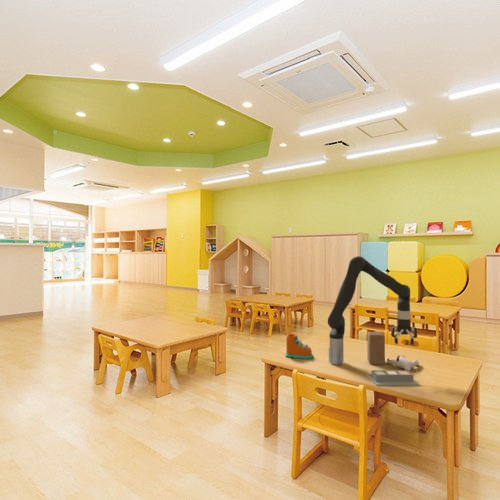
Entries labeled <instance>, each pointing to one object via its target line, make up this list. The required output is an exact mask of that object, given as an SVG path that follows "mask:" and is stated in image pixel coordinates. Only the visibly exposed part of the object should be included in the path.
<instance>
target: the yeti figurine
mask: <svg viewBox="0 0 500 500" xmlns="http://www.w3.org/2000/svg"><path fill="white" fill-rule="evenodd" d="M386 363H387V364H388V365H395V366H397V367H399V368H400V369H401V370H408V371H409V372H411V369H413V368H414V367H415V366H417V367H418V366H419V365H420V362H419V360H416V359H415V360H413V361H412V360H411V361H410V360H409V359H407V357H405V355H401V356H400V355H397V356H396V360H395V359H390V358H387V359H386Z"/></svg>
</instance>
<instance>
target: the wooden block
mask: <svg viewBox="0 0 500 500" xmlns="http://www.w3.org/2000/svg"><path fill="white" fill-rule="evenodd" d="M366 336H367V340H366V341H367V346H366V347H367V349H366V351H367V361H368V363H369V364H370V365H377V366H378V365H379V366H384V365H385V364H386V356H385V355H386V347H385V346H386V343H385V342H386V339H385V338H386V336H385V334H384V333H383V332H382V331H367V335H366Z"/></svg>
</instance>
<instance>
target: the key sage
mask: <svg viewBox="0 0 500 500" xmlns="http://www.w3.org/2000/svg"><path fill="white" fill-rule="evenodd" d="M374 372H375V373H376V374H377V375H386V374H385V373H384V372H383V371H374Z"/></svg>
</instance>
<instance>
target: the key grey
mask: <svg viewBox="0 0 500 500" xmlns="http://www.w3.org/2000/svg"><path fill="white" fill-rule="evenodd" d="M386 372H387V373H388V374H389V375H395V374H397V373H396V372H395V371H386Z"/></svg>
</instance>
